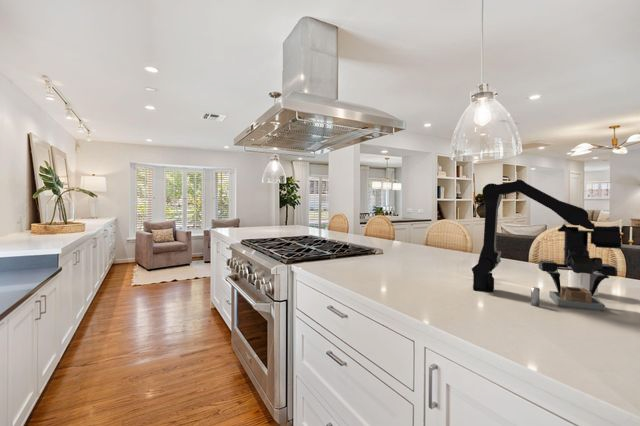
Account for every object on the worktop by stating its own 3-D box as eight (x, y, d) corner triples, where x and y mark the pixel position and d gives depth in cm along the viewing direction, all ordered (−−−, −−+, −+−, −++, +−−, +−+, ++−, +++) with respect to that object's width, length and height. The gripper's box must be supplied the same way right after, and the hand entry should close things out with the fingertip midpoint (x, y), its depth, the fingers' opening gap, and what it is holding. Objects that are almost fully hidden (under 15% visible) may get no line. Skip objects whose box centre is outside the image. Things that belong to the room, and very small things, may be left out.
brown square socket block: (559, 297, 103) (559, 285, 103) (583, 300, 100) (583, 287, 100) (565, 303, 97) (565, 290, 97) (591, 306, 94) (591, 293, 94)
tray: (558, 306, 96) (558, 300, 96) (549, 296, 106) (549, 290, 106) (604, 311, 91) (604, 304, 91) (590, 300, 101) (590, 294, 101)
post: (531, 305, 97) (531, 288, 96) (530, 303, 99) (530, 286, 98) (540, 306, 96) (540, 289, 96) (538, 304, 98) (538, 287, 98)
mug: (594, 299, 103) (595, 263, 102) (562, 293, 109) (563, 260, 109) (600, 292, 110) (601, 259, 110) (570, 287, 117) (570, 256, 116)
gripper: (546, 248, 95) (546, 297, 95) (626, 251, 87) (625, 305, 87) (538, 243, 105) (537, 288, 105) (609, 246, 97) (608, 295, 97)
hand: (574, 294), depth 98 cm, fingers open, 8 cm apart
